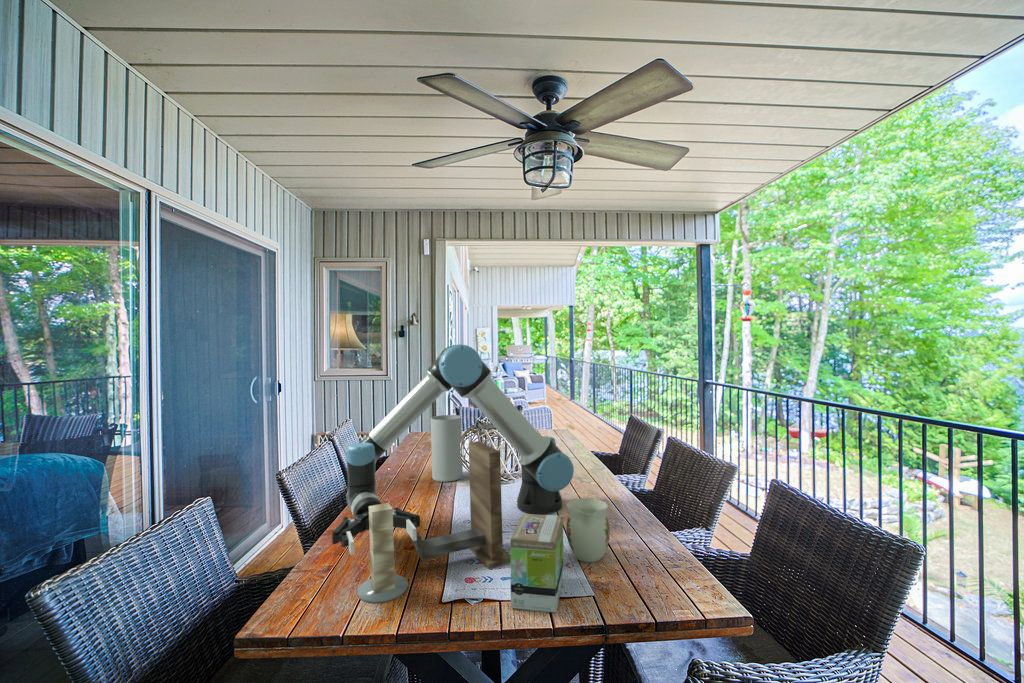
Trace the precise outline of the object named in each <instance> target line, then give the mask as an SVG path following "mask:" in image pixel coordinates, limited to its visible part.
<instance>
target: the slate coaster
mask: <svg viewBox="0 0 1024 683" xmlns="http://www.w3.org/2000/svg"><path fill="white" fill-rule="evenodd" d="M408 583H409V582H408V580H407V578H406V577H404V576H402V575H399V574H395V588H394V589H391V590H387V591H383V592H379V593H376V594H375V593H374V591H373V588H372V585H371V578H369V579H366V580H365V581H363V582H362V583H361V584H360V585H359V586H358V588H357V597H358V598H359V600H361V601H363V602H366V603H371V604H379V603H385V602H390V601H392V600H396V599H398V598H399V597H401V596H402V595H403V594H405V592H406V591H407V590H408V586H409V584H408Z"/></svg>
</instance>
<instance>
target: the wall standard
mask: <svg viewBox="0 0 1024 683" xmlns="http://www.w3.org/2000/svg"><path fill="white" fill-rule="evenodd" d="M468 464H469V465H468V467H469V468H468V469H469V471H468V472H469V473H468V474H469V501H470V502H469V504H470V505H469V506H470V508H469V509H470V510H469V511H470V512H469V513H470V529H468V530H467V529H466V530H462V531H458V532H454V533H449V534H444V535H440V536H436V537H430V538H427V539H422V536H421V535H420V534H419V532H418V531H417V532H416V533H417V540H416V541H413V540H412V539H411V543H412V545H413V546H414V547H415V552H416V554H417V555H418V557H419V558H420V560H423V561H424V560H427V559H431V558H436V557H440V556H443V555H447V554H452V553H456V552H460V551H464V550H468V549H469V550H470V551H471V552H472V553H473V554H474V555H475V557H476V558H477V559H478V560H479V561H480V562H481V563H482V564H483V565H484V566H485V567H486V568H487V569H488V570H489V569H492V568H497V567H501V566H504V565H508V564H511V553H510V552H508V551H507V550H506V549H505V548H504V546H503V545H504V542H503V514H502V513H503V510H502V509H503V508H502V505H503V504H502V473H501V471H502V470H501V467H502V466H501V451H500V450H498V449H496V448H494V447H492V446H489V445H487V444H486V443H483V442H481V441H473V442H468Z"/></svg>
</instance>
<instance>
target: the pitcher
mask: <svg viewBox="0 0 1024 683" xmlns="http://www.w3.org/2000/svg"><path fill="white" fill-rule="evenodd" d="M608 505H609V504H608V503H607V502H605V501H604V500H601V499H596V498H589V497H587V498H586V497H585V498H584V497H583V498H582V497H581V498H575V499H572V500H569V501H568V502H567V504H566V507H567V512H568V516H567V520H566V527H565V528H566V529H565V530H566V537H567V542H568V545H569V548H570V550H571V552H572V554H573V555H574V556H575V558H576V559H577V560H579V561H582V562H585V563H596V562H599V561H601V560H602V558H603V557H604V555H605V554H606V552H607V550H608V547H609V543H610V537H611V536H610V534H611V530H610V527H611V526H610V522H609V519H608V516H607V513H608V508H609V506H608Z"/></svg>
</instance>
